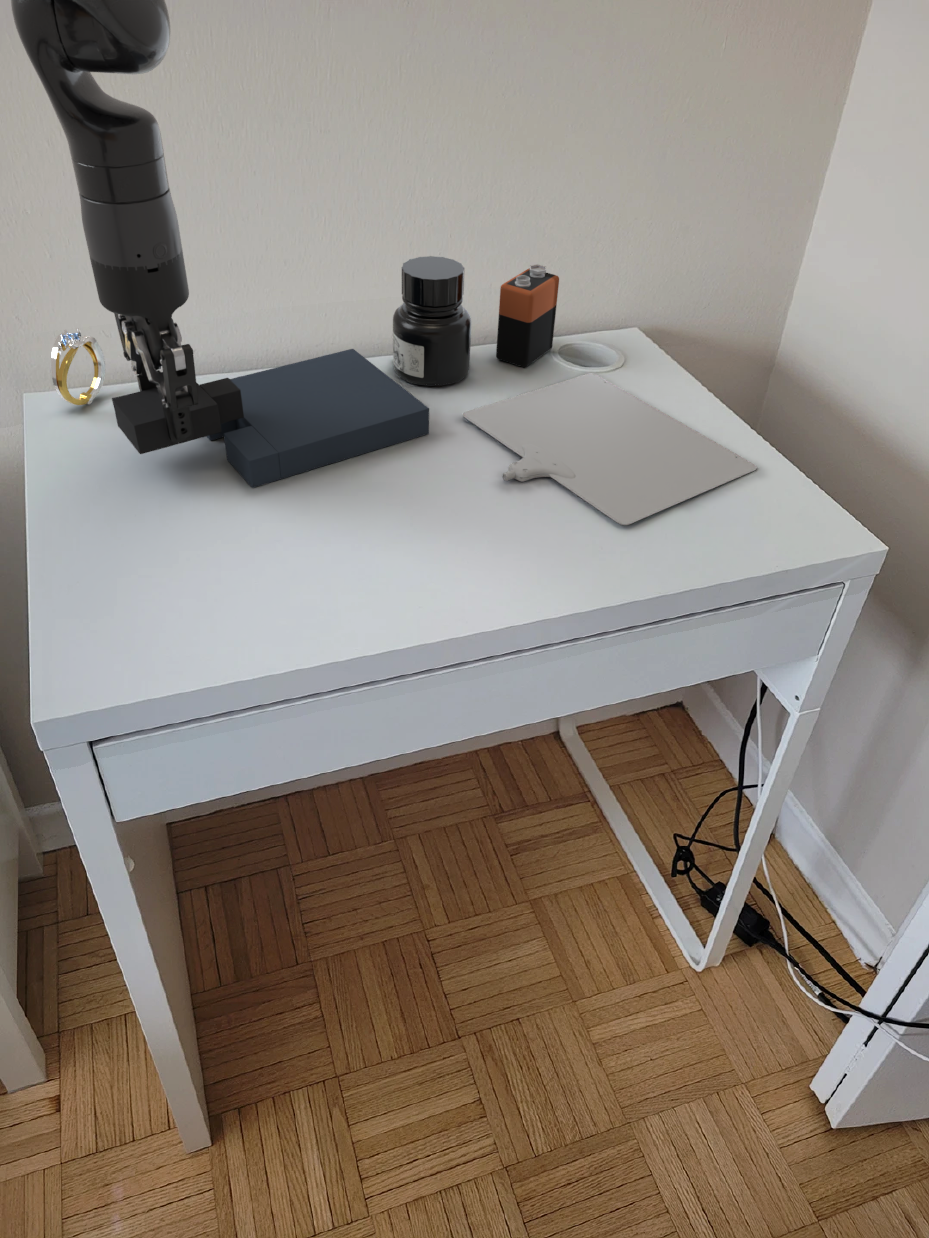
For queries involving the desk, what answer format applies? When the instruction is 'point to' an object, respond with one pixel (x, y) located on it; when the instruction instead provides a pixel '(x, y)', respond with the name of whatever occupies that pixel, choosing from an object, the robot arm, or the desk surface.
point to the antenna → (607, 447)
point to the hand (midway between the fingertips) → (168, 423)
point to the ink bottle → (432, 323)
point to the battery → (527, 316)
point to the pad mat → (317, 416)
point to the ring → (61, 372)
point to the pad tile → (147, 420)
